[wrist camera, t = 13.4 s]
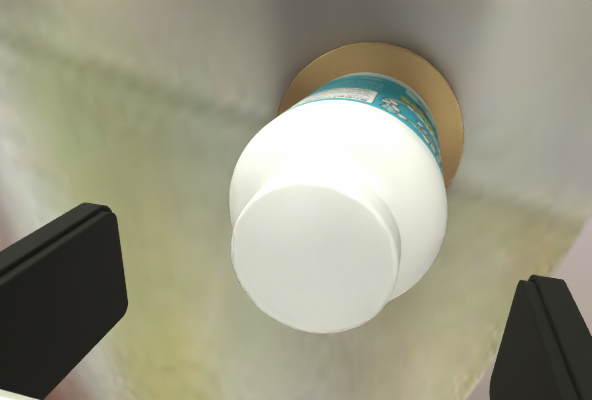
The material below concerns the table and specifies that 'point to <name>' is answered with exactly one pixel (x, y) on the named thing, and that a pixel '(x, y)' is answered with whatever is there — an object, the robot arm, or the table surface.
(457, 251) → the table surface
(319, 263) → the pill bottle
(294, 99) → the coaster
